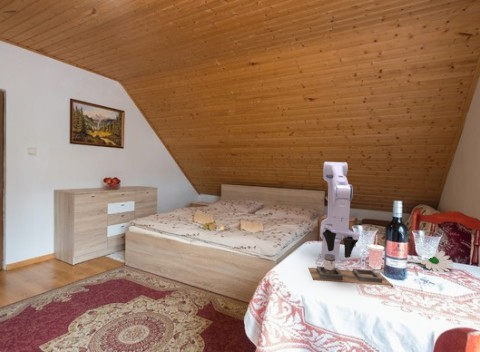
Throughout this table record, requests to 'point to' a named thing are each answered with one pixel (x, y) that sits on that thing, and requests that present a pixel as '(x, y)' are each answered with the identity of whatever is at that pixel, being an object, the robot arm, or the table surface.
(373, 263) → the beverage cup
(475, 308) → the table surface
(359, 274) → the dock board
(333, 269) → the metal cylinder
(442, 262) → the flower
